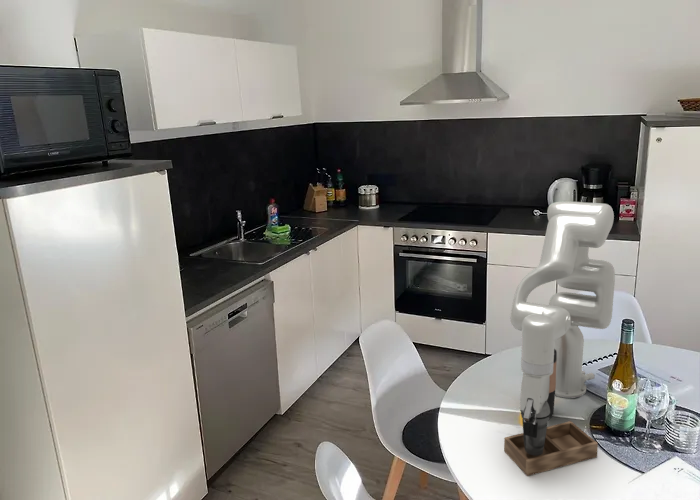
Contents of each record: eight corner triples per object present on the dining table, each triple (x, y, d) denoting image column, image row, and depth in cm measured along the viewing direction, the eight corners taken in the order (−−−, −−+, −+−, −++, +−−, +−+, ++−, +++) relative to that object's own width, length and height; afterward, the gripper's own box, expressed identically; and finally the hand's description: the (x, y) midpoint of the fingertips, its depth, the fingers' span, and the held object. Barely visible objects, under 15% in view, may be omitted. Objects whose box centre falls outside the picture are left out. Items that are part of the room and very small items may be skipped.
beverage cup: (550, 460, 139) (554, 389, 133) (520, 458, 140) (522, 387, 135) (546, 442, 146) (549, 374, 140) (517, 440, 147) (519, 372, 141)
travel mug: (540, 423, 158) (543, 359, 152) (521, 410, 164) (522, 349, 159) (560, 415, 161) (563, 352, 156) (540, 403, 168) (542, 342, 162)
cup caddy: (569, 434, 152) (570, 421, 151) (596, 457, 142) (598, 443, 141) (504, 451, 147) (504, 437, 146) (527, 476, 137) (527, 461, 136)
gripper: (531, 347, 145) (529, 407, 150) (510, 377, 131) (509, 442, 136) (561, 353, 141) (558, 414, 146) (543, 384, 127) (540, 451, 132)
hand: (534, 427), depth 141 cm, fingers closed on beverage cup, 6 cm apart
